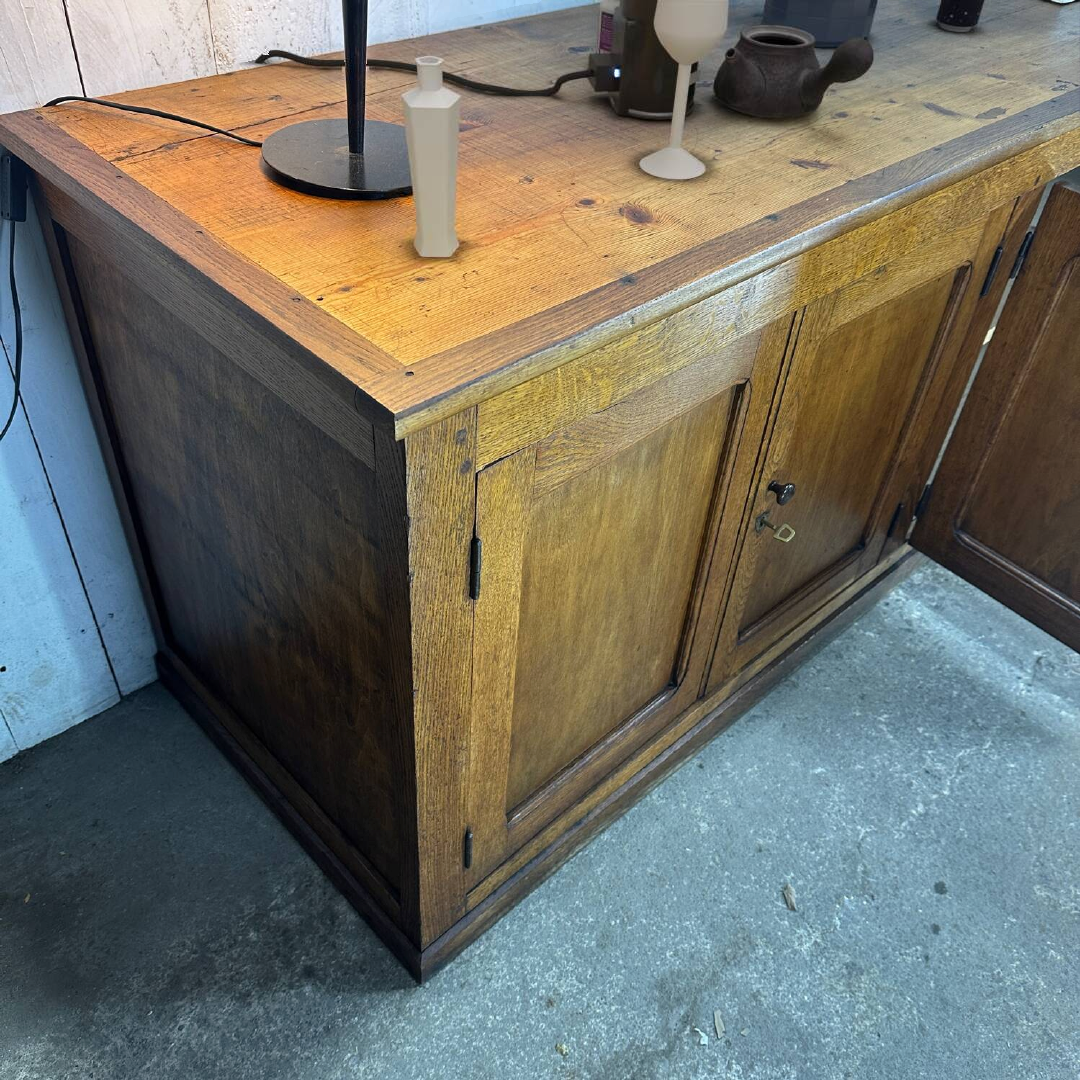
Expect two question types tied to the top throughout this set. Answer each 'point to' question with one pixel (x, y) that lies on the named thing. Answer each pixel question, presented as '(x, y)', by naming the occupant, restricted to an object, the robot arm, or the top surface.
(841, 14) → the bowl
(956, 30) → the beverage can
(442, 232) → the beige faceted vase
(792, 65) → the teapot
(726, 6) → the champagne flute
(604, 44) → the pill bottle
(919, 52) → the top surface
